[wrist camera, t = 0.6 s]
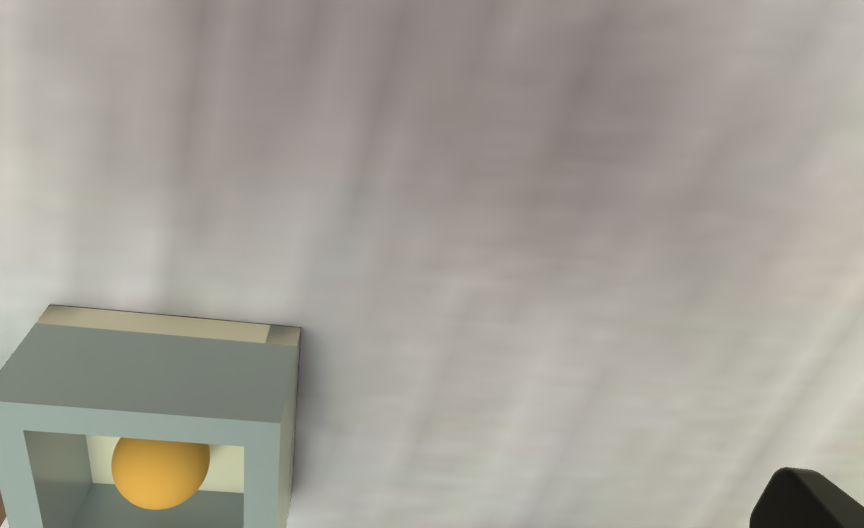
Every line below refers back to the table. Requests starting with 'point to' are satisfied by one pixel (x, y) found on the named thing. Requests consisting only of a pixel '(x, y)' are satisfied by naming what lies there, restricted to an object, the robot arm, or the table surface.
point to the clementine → (158, 471)
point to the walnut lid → (2, 510)
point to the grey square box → (147, 417)
